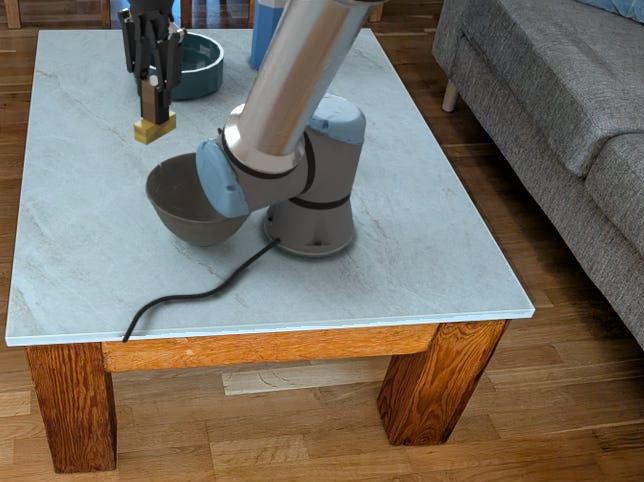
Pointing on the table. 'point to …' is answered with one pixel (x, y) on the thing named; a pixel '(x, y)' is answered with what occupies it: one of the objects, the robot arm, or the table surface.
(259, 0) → the water bottle
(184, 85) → the wash bowl
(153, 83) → the yellow-tipped brown block
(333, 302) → the table surface
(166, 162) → the bowl
